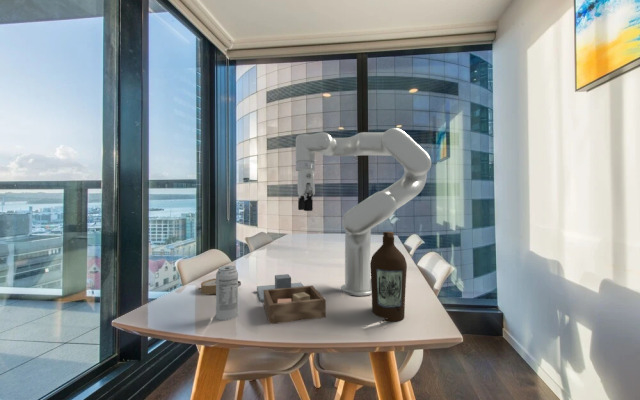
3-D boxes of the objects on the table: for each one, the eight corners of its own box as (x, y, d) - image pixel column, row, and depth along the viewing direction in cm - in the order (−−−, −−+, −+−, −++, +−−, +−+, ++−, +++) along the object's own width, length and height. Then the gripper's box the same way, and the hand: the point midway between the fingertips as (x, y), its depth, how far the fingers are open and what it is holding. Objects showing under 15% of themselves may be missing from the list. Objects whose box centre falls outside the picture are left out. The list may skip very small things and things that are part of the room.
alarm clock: (208, 278, 118) (244, 272, 116) (210, 290, 117) (246, 284, 116) (194, 286, 106) (233, 280, 105) (196, 300, 106) (235, 294, 105)
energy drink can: (237, 314, 88) (238, 264, 88) (237, 322, 82) (238, 269, 82) (216, 316, 86) (216, 265, 86) (215, 324, 81) (215, 270, 81)
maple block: (303, 304, 94) (303, 292, 94) (310, 308, 90) (310, 295, 90) (292, 306, 92) (292, 294, 92) (298, 311, 88) (298, 297, 88)
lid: (300, 288, 115) (300, 269, 115) (311, 300, 101) (311, 280, 101) (256, 292, 110) (256, 273, 110) (261, 306, 96) (261, 284, 96)
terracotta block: (291, 311, 88) (291, 298, 88) (291, 317, 84) (291, 303, 84) (277, 312, 87) (277, 299, 87) (277, 317, 83) (277, 303, 83)
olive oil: (369, 307, 94) (370, 229, 93) (403, 309, 92) (404, 230, 92) (370, 321, 83) (371, 233, 83) (409, 324, 82) (409, 234, 81)
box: (312, 303, 97) (312, 285, 97) (325, 320, 84) (325, 299, 84) (263, 308, 92) (263, 289, 92) (269, 327, 79) (269, 305, 79)
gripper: (320, 164, 108) (320, 211, 108) (308, 169, 124) (308, 209, 124) (301, 164, 105) (300, 211, 105) (291, 168, 122) (291, 209, 122)
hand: (305, 210), depth 115 cm, fingers open, 9 cm apart
